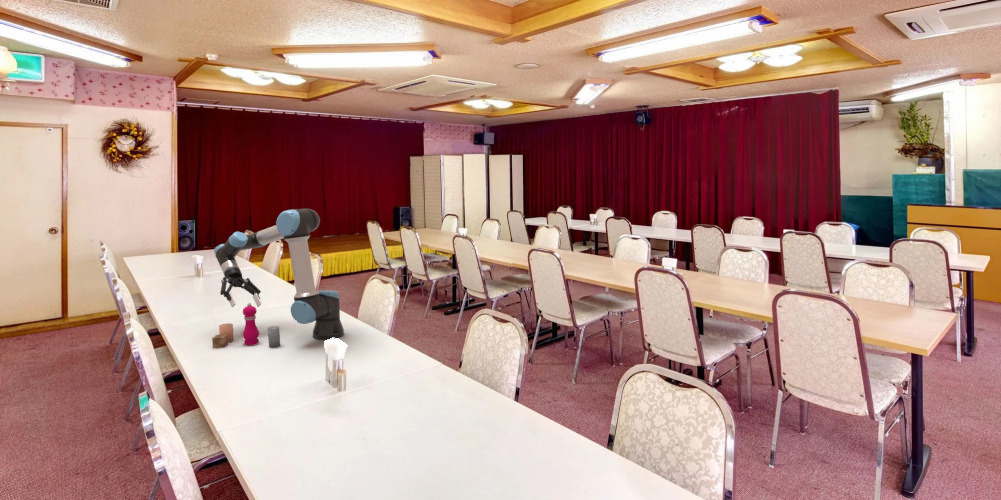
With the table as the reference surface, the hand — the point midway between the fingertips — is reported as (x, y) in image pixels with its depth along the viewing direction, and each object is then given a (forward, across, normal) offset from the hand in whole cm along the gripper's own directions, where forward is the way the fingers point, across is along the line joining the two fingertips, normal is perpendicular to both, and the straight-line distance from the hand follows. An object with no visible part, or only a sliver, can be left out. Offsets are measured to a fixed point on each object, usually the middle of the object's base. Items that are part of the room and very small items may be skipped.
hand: (246, 305), depth 259 cm
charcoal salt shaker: (+24, -5, 0) cm, 24 cm away
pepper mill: (+16, -2, -10) cm, 19 cm away
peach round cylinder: (+7, +2, -20) cm, 21 cm away
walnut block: (+11, +8, -17) cm, 22 cm away
